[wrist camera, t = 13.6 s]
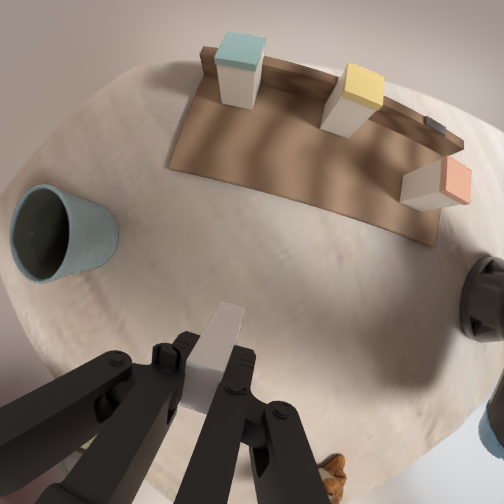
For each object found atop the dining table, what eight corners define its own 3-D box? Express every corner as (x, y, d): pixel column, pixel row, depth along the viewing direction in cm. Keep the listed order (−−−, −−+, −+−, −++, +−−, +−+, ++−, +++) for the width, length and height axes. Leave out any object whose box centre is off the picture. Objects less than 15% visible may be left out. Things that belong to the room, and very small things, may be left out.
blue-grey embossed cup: (131, 261, 33) (82, 267, 21) (74, 282, 33) (19, 294, 21) (112, 188, 33) (62, 166, 21) (58, 215, 33) (3, 206, 21)
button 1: (425, 185, 33) (471, 170, 23) (421, 212, 33) (469, 203, 23) (402, 174, 33) (447, 154, 22) (398, 202, 33) (445, 190, 23)
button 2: (260, 86, 32) (266, 38, 22) (252, 110, 32) (256, 64, 22) (230, 79, 32) (226, 31, 22) (221, 104, 32) (214, 57, 22)
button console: (441, 151, 34) (465, 139, 28) (431, 246, 34) (458, 247, 28) (208, 71, 33) (203, 44, 26) (170, 169, 33) (156, 154, 27)
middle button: (352, 114, 32) (384, 77, 22) (348, 139, 32) (382, 106, 22) (324, 104, 32) (348, 62, 22) (319, 129, 32) (344, 90, 22)
